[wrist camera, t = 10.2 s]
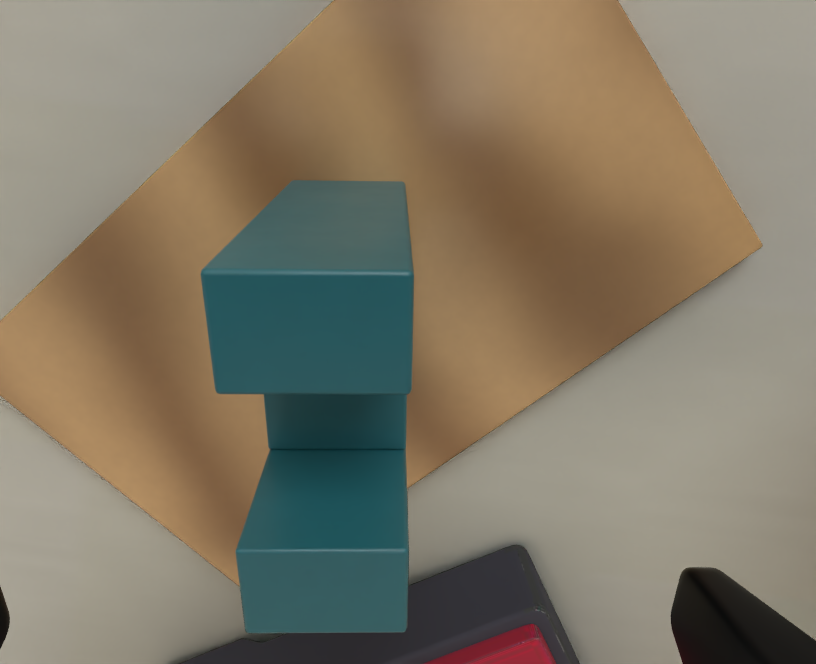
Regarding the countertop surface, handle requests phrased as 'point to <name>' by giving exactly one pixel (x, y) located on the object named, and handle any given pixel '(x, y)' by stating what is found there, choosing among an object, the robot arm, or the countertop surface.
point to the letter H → (322, 402)
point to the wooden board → (429, 231)
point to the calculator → (438, 625)
